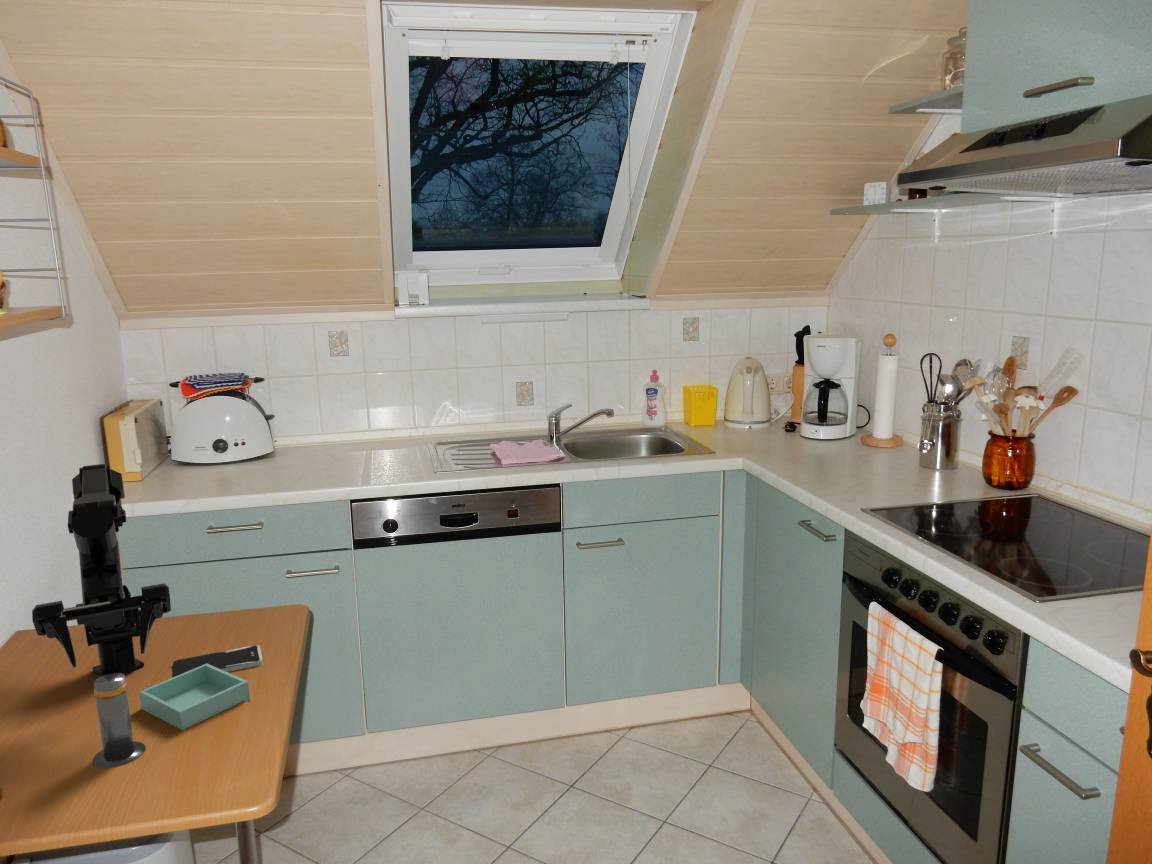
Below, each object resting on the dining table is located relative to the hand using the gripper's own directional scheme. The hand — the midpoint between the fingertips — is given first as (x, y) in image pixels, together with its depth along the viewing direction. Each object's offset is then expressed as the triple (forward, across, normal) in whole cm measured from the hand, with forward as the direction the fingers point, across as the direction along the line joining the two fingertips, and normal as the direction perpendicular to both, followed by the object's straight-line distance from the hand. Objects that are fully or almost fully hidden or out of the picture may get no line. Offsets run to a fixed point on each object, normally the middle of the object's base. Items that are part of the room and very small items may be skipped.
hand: (108, 659), depth 131 cm
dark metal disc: (+14, 0, -5) cm, 14 cm away
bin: (+6, -11, -12) cm, 18 cm away
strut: (+13, 0, -4) cm, 14 cm away
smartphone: (-4, -16, -23) cm, 29 cm away
